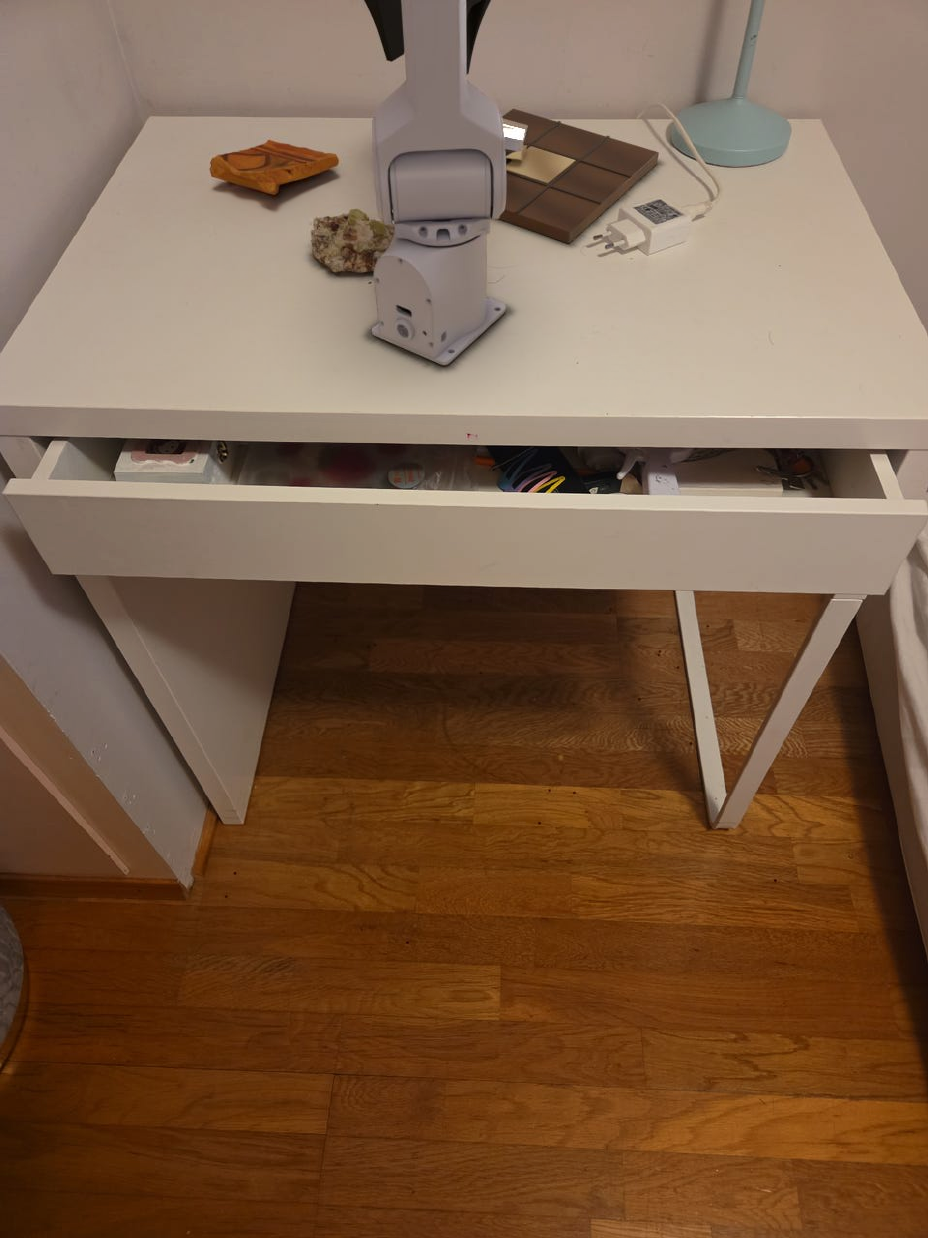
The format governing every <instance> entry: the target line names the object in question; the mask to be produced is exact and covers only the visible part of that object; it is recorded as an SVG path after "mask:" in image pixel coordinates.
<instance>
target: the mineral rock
mask: <svg viewBox="0 0 928 1238" xmlns="http://www.w3.org/2000/svg"><path fill="white" fill-rule="evenodd" d="M312 223H313V224H312V225H313V226H312V227H313V228H312V230H311V231H310V235H311V237H310V243H311V246H312V253H313V256H314V257H315V258H316V260H318V261H319V262H320V263H322V264H324V266H327V267H328V269H330V271H331V272H333V273H335V274H336V273H338V272H346V273H347V272H353V273H356V274H362V273H367V272H372V273H373V272H374V267H375V264H376V263H377V261H378V260H379V258H380V257H381V256H382V255H383V254H384V253H385V251H386V250H387V248H388V247H389V245H390V244H391V241H392V239H393V236H394V232H395V227H394V222H392V225H385V223H384V221H382V220H376V219H374V218H373V219H372V218H370V217H368V215H367V213H365V212H364V211H362V210H361V209H359V208H353V209H350V210H349V211H348V213H342V214H340V215H337V216H336V215H335V216H330V215H325V216H324V217H317V216H316V217H315V218H314V219H313V222H312Z"/></svg>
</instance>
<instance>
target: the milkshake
mask: <svg viewBox="0 0 928 1238" xmlns="http://www.w3.org/2000/svg"><path fill="white" fill-rule="evenodd" d="M502 119H503V118H502ZM503 125H504V134H505V154H506V160H512V161H523V158H524V156H525V152H526V147H527V142H528V134H529V127H528V126H527V125H524V124H521V123H517V122H514V121H510V120H506V119H503Z"/></svg>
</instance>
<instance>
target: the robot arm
mask: <svg viewBox="0 0 928 1238" xmlns="http://www.w3.org/2000/svg"><path fill="white" fill-rule="evenodd" d="M491 1H492V0H363V2H364V4H365V5H366V7H367V9H368V11H369V13H370V15H371V17H372V20H373V23H374V25H375V28H376V31H377V33H378V37H379V40H380V43H381V46H382V50H383V53H384V56H385V60H386V61H388V62H391V63H392V62H394V61H395V60H397V59H399V58H400V57H402V56H404V66H405V81H404V82H403V83H402V84H400V86H399V87H398V88H396V90H394V91H393V92H392V93H391V94H389V96H387V97H386V98H385V99H384V100H383V101H382V102H381V103H379V105H378V106H377V107H376V108H375V110H374V117H373V118H372V120H371V132H372V134H371V135H372V143H371V145H372V147H371V148H372V165H373V178H374V191H375V201H376V210H377V217H378V218H379V219H380V221H384V223H385V225H392V223H393V224H394V227H395V232H394V236H393V239H392V241H391V244H390V245H389V247H388V248H387V250H386V251H385V253H384V254H383V255H382V256H381V257H380V258H379V260H378V261H377V263H376V264H375V267H374V271H373V272H372V273H373V277H372V278H373V285H374V294H375V303H376V314H377V322H378V323H376V325H374V326H373V327H372V328H371V333H372V335H373V336H374V337H376V338H379V339H381V340H384V341H386V342H388V343H391V344H393V345H395V346H397V347H400V348H403V349H404V350H407V351H409V352H411V353H414V354H416V355H418V356H420V357H422V358H425V359H427V360H430V361H431V362H434V363H437V364H439V365H440V366H441V365H442V366H447V365H449V364H450V363H451V362H452V361H453V360H455V359H456V358H457V357H458V356H459V355H460V354H461V353H462V352H464V351H465V349H467V348H468V347H469V346H470V345H471V344H472V343H473V342H474V341H476V339H478V337H480V336H481V335H482V334H483V333H484V332H485V331H487V330H488V329H489V328H490V327H491V326H492V325H493V324H494V323H495V322H496V321H498V319H499V318H501V317H502V316H503V315H504V313H506V312H507V305H506V304H505V303H503V302H500V301H498V300H495V299H493V298H490V297H487V282H488V281H487V274H488V273H487V267H488V266H487V264H488V263H487V260H488V257H487V255H488V253H487V252H488V250H487V249H488V247H487V246H488V245H487V243H488V234H490V232H491V220H499V219H498V218H499V217H500V215H501V214H502V213H503V211H504V210H505V205H506V154H505V134H504V125H503V119H502V116H503V115H502V113H501V111H500V109H499V106H498V104H497V102H496V101H495V100H494V99H492V98H491V97H490V96H489V95H487V94H486V93H485V92H484V91H483V90H481V89H479V88H478V87H477V86H475V85H474V84H473V83H471V81H469V80H468V78H467V75H469V74H470V67H471V63H472V57H473V51H474V48H475V44H476V40H477V37H478V33H479V30H480V27H481V24H482V22H483V20H484V17H485V14H486V12H487V10H488V8H489V6H490V3H491Z"/></svg>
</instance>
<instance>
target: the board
mask: <svg viewBox="0 0 928 1238" xmlns="http://www.w3.org/2000/svg"><path fill="white" fill-rule="evenodd" d="M502 118H503V119H506V120H510V121H514V122H517V123H521V124H524V125H527V126H528V127H529V134H528V142H527V147H526V152H525V156H524V158H523V161H512V160H506V205H505V210H504V211H503V213H502V214H501V215H500V217H499V218H498V219H497V220H500V221H504V222H507V223H510V224H512V225H515V226H518V227H521V228H523V229H526V230H529V231H532V232H535V233H537V234H540V235H543V236H546V237H549V238H552V239H555V240H557V241H560V242H563V243H565V244H570V243H571V242H573V241H574V240H575V239H576V238H577V237H578V236H579V235H581V233H582V232H584V231H585V230H586V229H587V228H588V227H589V226H590V225H591V224H593V222H595V221H596V219H598V218H599V217H600V216H601V215H602V214H604V212H605V211H606V210H608V209H609V208H610V207H611V206H612V205H613V204H615V202H617V201H618V200H619V199H620V198H621V197H622V196H623V195H624V194H625V193H627V192H628V190H630V189H631V188H632V187H633V186H634V185H636V184H637V183H638V182H639V181H640V180H641V179H642V178H643V177H644V176H645V175H647V173H648V172H650V171H651V170H652V169H653V168H654V167H655V166H656V165H658V161H659V154H660V152H659V151H656V150H654V149H653V150H652V149H649V148H646V147H643V146H639V145H636V144H632V143H629V142H626V141H622V140H619V139H616V138H612V137H611V136H610V135H602V134H600V133H596V132H592V131H590V130H585V129H582V128H580V127H577V126H573V125H569V124H567V123H563V122H562V121H561V120H558V121H556V120H552V119H549V118H547V117H543V116H540V115H536V114H532V113H529V112H526V111H523V110H520V109H516V108H511V109H510V110H509V111H508V112H506V113H505V114H504V115H502Z"/></svg>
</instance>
